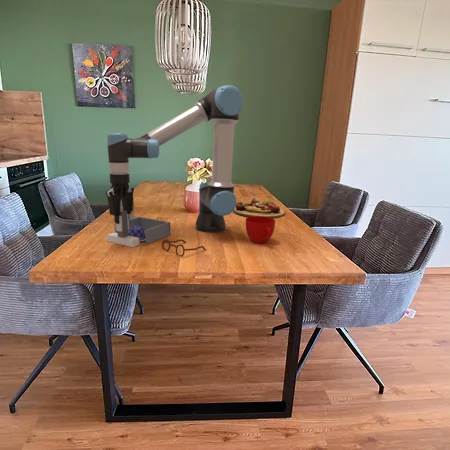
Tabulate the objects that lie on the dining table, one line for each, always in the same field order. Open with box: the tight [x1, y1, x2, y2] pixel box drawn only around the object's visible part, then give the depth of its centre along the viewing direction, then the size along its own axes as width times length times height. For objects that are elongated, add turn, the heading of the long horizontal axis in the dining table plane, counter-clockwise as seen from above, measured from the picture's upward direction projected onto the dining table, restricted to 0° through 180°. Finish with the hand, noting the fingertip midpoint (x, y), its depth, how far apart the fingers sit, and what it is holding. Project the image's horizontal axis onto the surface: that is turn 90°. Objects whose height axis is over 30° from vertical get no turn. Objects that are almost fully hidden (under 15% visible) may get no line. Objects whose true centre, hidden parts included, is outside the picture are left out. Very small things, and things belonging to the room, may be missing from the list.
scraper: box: [106, 210, 140, 248], centre depth 133 cm, size 14×4×14 cm, turn 62°
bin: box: [113, 216, 171, 245], centre depth 145 cm, size 19×16×6 cm
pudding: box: [128, 226, 146, 242], centre depth 141 cm, size 12×12×5 cm
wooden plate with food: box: [233, 196, 285, 219], centre depth 198 cm, size 32×32×8 cm
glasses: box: [161, 238, 207, 258], centre depth 130 cm, size 13×13×5 cm
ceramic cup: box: [245, 216, 276, 244], centre depth 141 cm, size 13×17×10 cm
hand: (122, 229), depth 133 cm, fingers closed on scraper, 3 cm apart
